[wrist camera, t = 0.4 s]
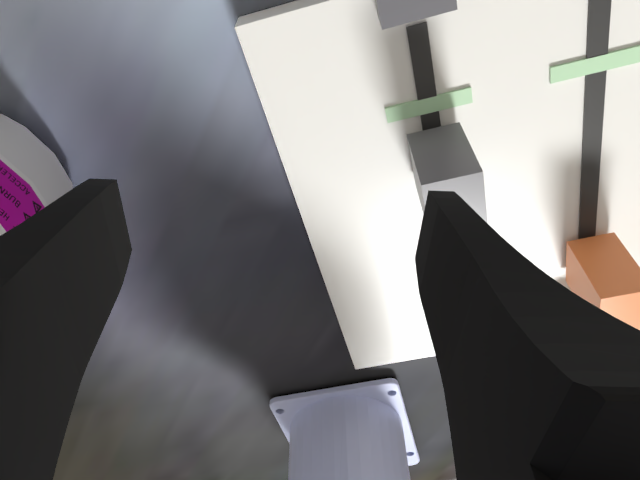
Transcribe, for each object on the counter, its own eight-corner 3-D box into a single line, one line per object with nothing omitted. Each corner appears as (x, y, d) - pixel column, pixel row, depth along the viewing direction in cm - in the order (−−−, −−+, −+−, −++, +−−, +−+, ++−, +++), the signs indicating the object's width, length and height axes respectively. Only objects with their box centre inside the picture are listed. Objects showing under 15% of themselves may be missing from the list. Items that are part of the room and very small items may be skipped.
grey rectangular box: (465, 175, 21) (488, 229, 19) (415, 186, 22) (430, 241, 19) (459, 121, 20) (483, 171, 17) (406, 134, 20) (421, 185, 17)
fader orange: (610, 272, 25) (648, 330, 22) (565, 280, 25) (597, 339, 22) (614, 232, 23) (655, 289, 20) (566, 241, 24) (600, 299, 21)
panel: (692, 292, 28) (719, 326, 26) (354, 352, 31) (356, 387, 29) (791, -141, 16) (854, -137, 15) (238, 17, 19) (230, 38, 17)
